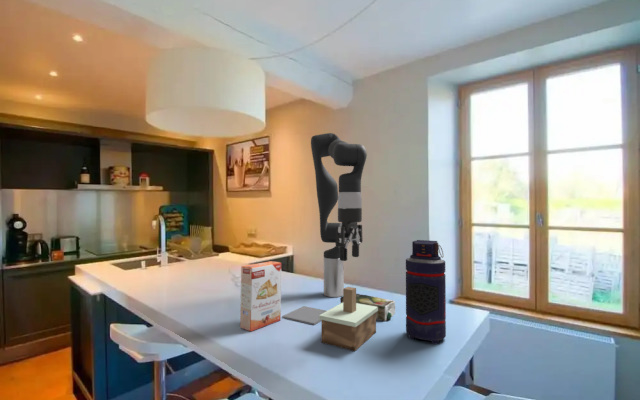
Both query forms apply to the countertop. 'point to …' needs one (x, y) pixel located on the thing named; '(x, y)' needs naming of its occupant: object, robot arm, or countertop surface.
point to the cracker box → (260, 295)
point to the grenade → (425, 292)
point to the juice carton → (377, 305)
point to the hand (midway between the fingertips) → (349, 258)
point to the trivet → (305, 315)
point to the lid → (349, 310)
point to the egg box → (348, 333)
